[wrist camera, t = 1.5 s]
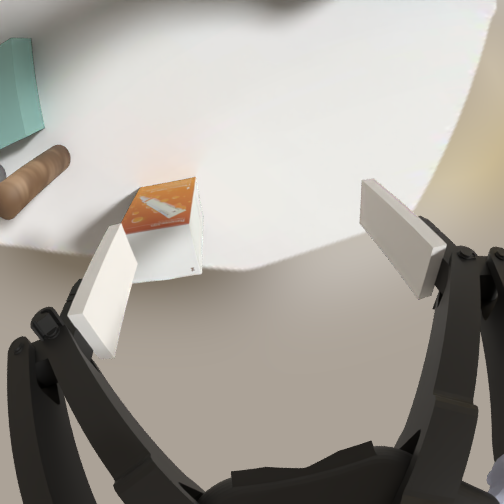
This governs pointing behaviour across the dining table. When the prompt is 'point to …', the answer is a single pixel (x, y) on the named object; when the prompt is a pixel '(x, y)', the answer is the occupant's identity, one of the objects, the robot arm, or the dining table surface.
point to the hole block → (18, 92)
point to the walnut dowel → (31, 180)
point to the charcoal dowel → (2, 174)
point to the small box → (166, 230)
